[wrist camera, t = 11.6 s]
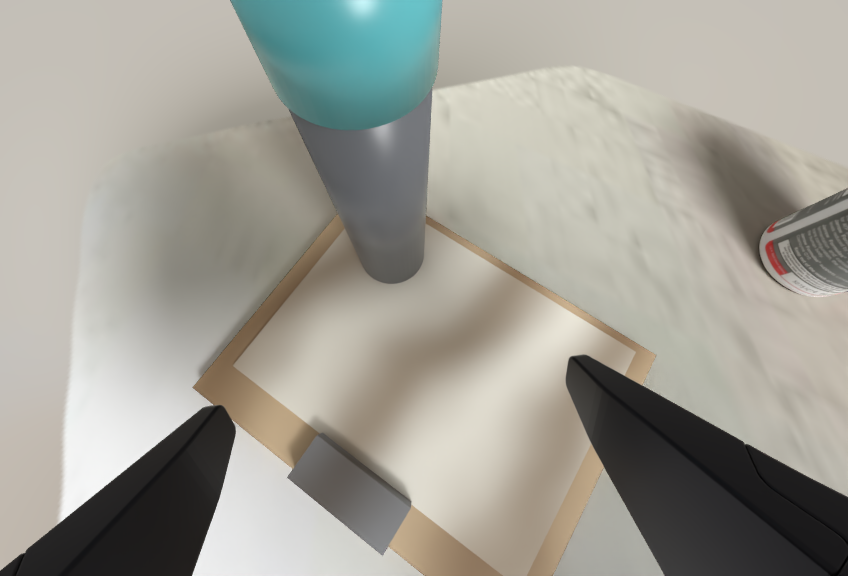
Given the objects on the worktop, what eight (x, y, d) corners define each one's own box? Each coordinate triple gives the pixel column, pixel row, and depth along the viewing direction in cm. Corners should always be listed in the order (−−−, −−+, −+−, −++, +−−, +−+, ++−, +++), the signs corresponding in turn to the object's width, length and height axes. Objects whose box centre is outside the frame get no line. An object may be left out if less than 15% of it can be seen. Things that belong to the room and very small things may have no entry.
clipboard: (645, 356, 17) (670, 353, 15) (512, 636, 14) (524, 671, 12) (368, 187, 20) (363, 168, 18) (203, 387, 17) (177, 387, 15)
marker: (438, 244, 18) (494, -124, 5) (400, 298, 17) (347, 26, 4) (384, 211, 18) (302, -204, 5) (344, 262, 17) (133, -87, 4)
